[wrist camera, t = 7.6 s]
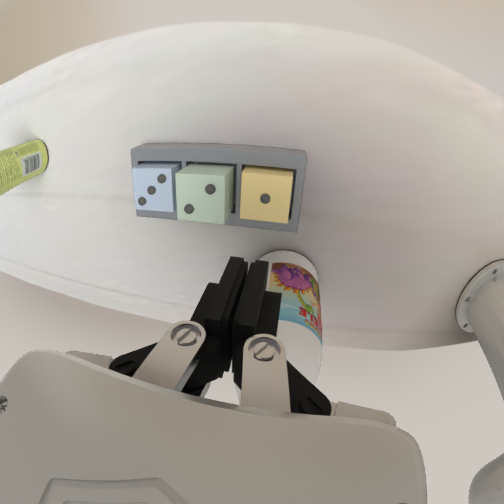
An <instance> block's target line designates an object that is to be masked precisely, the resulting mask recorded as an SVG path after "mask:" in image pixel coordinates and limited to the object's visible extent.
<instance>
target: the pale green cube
mask: <svg viewBox="0 0 504 504" xmlns="http://www.w3.org/2000/svg"><path fill="white" fill-rule="evenodd" d="M175 179H176V201H177V217H178V220H184V221H195V222H205V223H215V224H225V222H226V220H227V218H228V217H229V215H230V213H231V211H232V209H233V193H234V166H228V165H211V164H189V165H188V166H186V167H185V168H183V169H181V170H180V171H178V172H177V173H175Z"/></svg>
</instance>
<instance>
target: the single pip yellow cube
mask: <svg viewBox="0 0 504 504" xmlns="http://www.w3.org/2000/svg"><path fill="white" fill-rule="evenodd" d="M292 180H293V169H289V168H279V167H270V166H259V165H247V166H246V167H245V169H244V170H243V171H242V178H241V201H240V218H241V219H250V220H260V221H269V222H277V223H286V224H287V223H288V215H289V207H290V198H291V189H292Z"/></svg>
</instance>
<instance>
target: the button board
mask: <svg viewBox="0 0 504 504" xmlns="http://www.w3.org/2000/svg"><path fill="white" fill-rule="evenodd" d="M306 159H307V156H306V152H305V151H302V150H293V149H284V148H274V147H263V146H250V145H234V144H211V143H151V144H143V145H141V146H138V147H135V148H132V149H131V161H132V168H133V167H135V166H137V165H139V164H141V163H144V162H146V161H182V169H183V168H185V167H186V166H188V165H189V164H211V165H228V166H234V193H233V209H232V211H231V213H230V215H229V217H228V218H227V220H226V222H225V225H234V226H243V227H252V228H261V229H270V230H279V231H287V232H295V233H297V230H298V223H299V215H300V208H301V200H302V192H303V184H304V176H305V168H306ZM247 165H259V166H270V167H279V168H289V169H293V180H292V189H291V198H290V207H289V215H288V223H287V224H286V223H277V222H269V221H260V220H250V219H241V218H240V201H241V178H242V171H243V170H244V169H245V167H246V166H247ZM136 213H137V216H139V217H151V218H163V219H174V220H178V217H177V209H176V210H175V211H174V212H164V211H151V210H137V209H136Z"/></svg>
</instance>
